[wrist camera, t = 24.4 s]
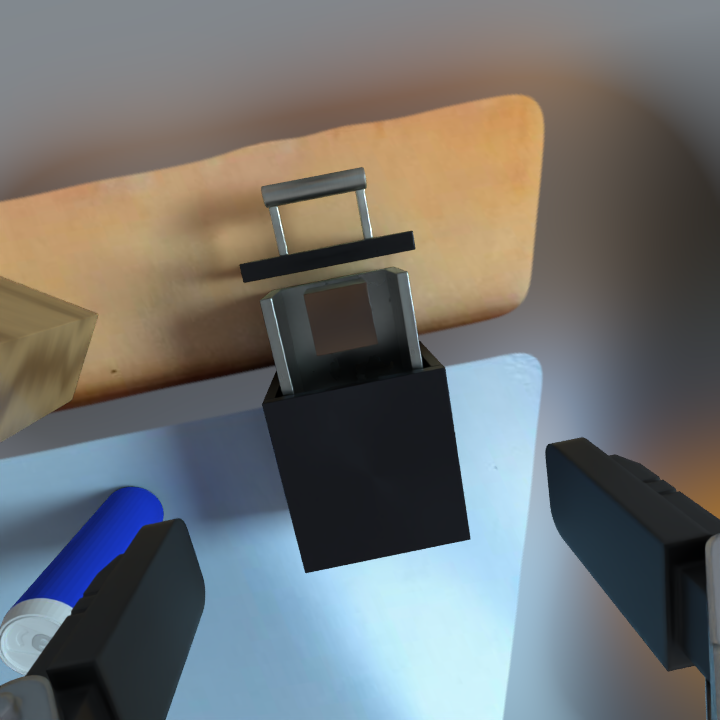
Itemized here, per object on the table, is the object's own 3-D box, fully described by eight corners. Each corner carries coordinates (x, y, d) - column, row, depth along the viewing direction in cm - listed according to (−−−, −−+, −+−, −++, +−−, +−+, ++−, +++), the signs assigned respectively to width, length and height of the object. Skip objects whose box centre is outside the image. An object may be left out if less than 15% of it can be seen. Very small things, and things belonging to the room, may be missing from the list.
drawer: (241, 199, 36) (219, 188, 29) (386, 171, 36) (400, 153, 29) (291, 406, 40) (283, 441, 33) (421, 380, 40) (440, 409, 33)
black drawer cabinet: (276, 368, 40) (261, 404, 31) (419, 340, 40) (445, 367, 31) (310, 506, 43) (305, 573, 35) (442, 479, 44) (470, 539, 35)
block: (306, 288, 37) (303, 294, 32) (362, 277, 37) (366, 281, 32) (318, 343, 38) (316, 356, 33) (372, 332, 38) (378, 344, 33)
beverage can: (101, 524, 43) (-19, 669, 28) (116, 475, 41) (0, 600, 27) (156, 540, 43) (69, 690, 29) (173, 493, 42) (90, 624, 28)
